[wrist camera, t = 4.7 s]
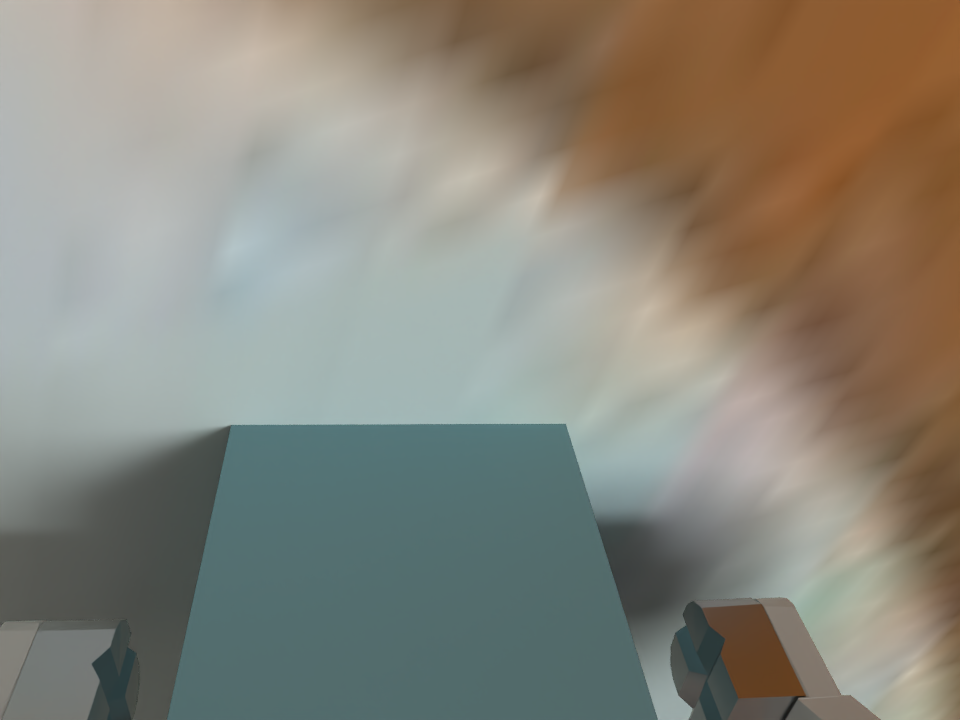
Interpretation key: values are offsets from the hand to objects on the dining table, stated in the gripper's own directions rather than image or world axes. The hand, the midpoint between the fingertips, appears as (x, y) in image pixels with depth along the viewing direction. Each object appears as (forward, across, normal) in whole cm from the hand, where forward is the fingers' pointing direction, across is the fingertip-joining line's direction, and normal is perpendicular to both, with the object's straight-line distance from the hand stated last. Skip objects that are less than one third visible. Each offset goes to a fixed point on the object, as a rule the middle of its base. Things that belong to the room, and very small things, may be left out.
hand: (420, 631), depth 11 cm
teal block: (+2, 0, 0) cm, 2 cm away
